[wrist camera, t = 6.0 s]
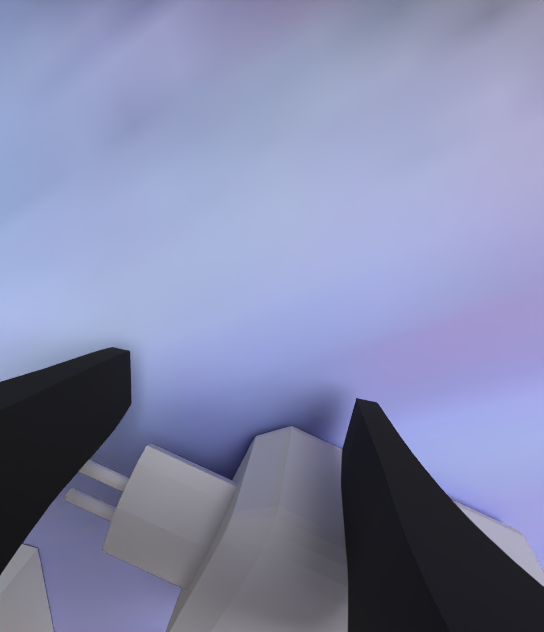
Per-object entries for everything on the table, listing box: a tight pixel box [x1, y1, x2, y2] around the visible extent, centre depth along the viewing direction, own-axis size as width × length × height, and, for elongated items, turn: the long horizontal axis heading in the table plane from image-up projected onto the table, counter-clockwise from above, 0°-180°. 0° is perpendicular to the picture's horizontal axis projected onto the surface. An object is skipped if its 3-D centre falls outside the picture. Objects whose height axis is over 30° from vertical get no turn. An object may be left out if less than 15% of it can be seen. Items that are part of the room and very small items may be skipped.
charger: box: [64, 426, 544, 632], centre depth 12 cm, size 5×9×15 cm
